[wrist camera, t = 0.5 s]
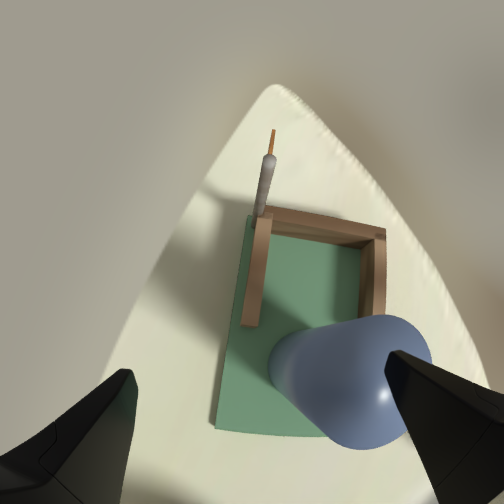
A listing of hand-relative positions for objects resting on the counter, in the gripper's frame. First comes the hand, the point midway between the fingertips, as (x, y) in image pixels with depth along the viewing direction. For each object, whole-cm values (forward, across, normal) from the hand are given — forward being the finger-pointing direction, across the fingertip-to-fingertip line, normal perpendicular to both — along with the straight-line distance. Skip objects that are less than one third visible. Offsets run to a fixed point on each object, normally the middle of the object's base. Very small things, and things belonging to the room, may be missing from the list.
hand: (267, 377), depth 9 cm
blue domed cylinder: (+11, -5, +9) cm, 15 cm away
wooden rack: (+16, -6, +2) cm, 17 cm away
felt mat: (+13, -5, +7) cm, 16 cm away
